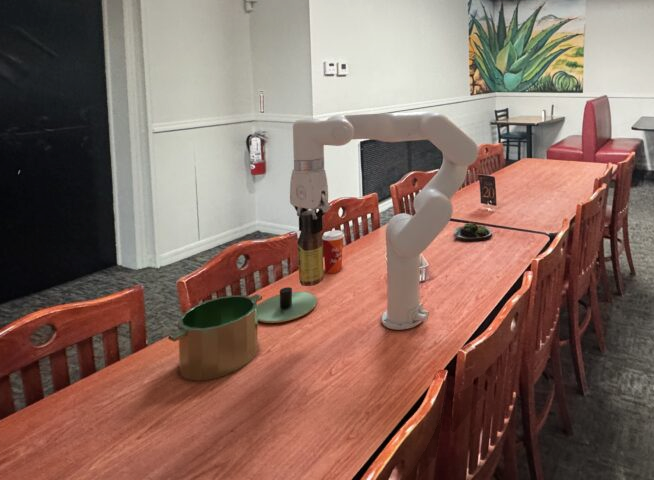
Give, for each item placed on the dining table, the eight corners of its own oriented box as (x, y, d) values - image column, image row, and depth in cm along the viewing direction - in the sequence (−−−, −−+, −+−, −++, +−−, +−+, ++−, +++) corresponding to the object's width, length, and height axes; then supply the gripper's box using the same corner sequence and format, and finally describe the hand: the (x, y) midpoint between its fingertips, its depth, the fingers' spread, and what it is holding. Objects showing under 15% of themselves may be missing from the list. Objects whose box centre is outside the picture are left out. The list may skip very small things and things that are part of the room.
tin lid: (329, 302, 144) (328, 283, 143) (280, 330, 128) (279, 309, 127) (291, 290, 151) (290, 272, 151) (240, 316, 135) (239, 296, 135)
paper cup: (336, 275, 163) (336, 237, 162) (317, 273, 164) (317, 235, 164) (348, 266, 171) (348, 230, 170) (330, 264, 172) (330, 228, 171)
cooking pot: (280, 344, 121) (279, 299, 121) (193, 396, 102) (192, 342, 101) (240, 328, 128) (240, 286, 128) (152, 374, 109) (151, 324, 108)
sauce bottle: (304, 277, 126) (301, 208, 125) (327, 276, 127) (324, 207, 126) (294, 288, 120) (292, 215, 119) (319, 287, 120) (316, 215, 119)
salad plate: (450, 228, 214) (450, 218, 214) (487, 225, 218) (487, 216, 218) (453, 242, 196) (454, 232, 195) (494, 240, 200) (494, 229, 199)
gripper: (275, 164, 121) (277, 230, 122) (320, 170, 114) (321, 240, 115) (299, 159, 128) (301, 222, 129) (342, 164, 121) (344, 231, 122)
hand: (310, 230), depth 122 cm, fingers closed on sauce bottle, 4 cm apart
